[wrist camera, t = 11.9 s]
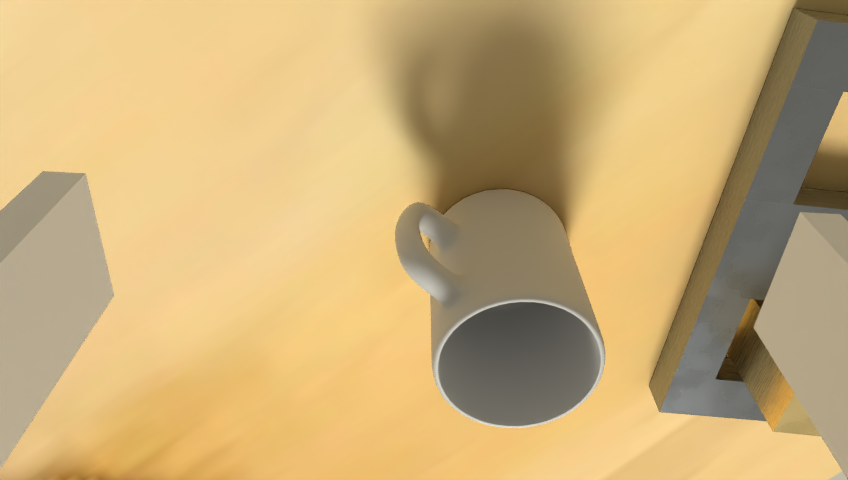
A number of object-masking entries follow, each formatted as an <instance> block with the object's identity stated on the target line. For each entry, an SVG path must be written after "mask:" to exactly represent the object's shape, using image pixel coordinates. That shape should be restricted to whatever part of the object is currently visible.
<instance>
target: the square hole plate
mask: <svg viewBox="0 0 848 480" xmlns="http://www.w3.org/2000/svg"><path fill="white" fill-rule="evenodd" d="M843 92H848V15H842V14H834V13H826V12H818V11H810V10H802V9H794V8H793V11H792V13H791V16H790V18H789V21H788V24H787V26H786V29H785V31H784V34H783V37H782V39H781V42H780V45H779V47H778V50H777V52H776V55H775V58H774V60H773V63H772V65H771V68H770V71H769V73H768V76H767V79H766V81H765V84H764V86H763V89H762V92H761V94H760V97H759V99H758V102H757V105H756V107H755V110H754V113H753V115H752V118H751V120H750V123H749V126H748V128H747V131H746V133H745V136H744V139H743V141H742V144H741V147H740V149H739V152H738V154H737V157H736V160H735V162H734V165H733V168H732V170H731V173H730V175H729V178H728V181H727V183H726V186H725V188H724V191H723V194H722V196H721V199H720V202H719V204H718V207H717V209H716V212H715V215H714V217H713V220H712V222H711V225H710V228H709V230H708V233H707V236H706V238H705V241H704V243H703V246H702V249H701V251H700V254H699V256H698V259H697V262H696V264H695V267H694V270H693V272H692V275H691V277H690V280H689V283H688V285H687V288H686V290H685V293H684V296H683V298H682V301H681V304H680V306H679V309H678V311H677V314H676V317H675V319H674V322H673V324H672V327H671V330H670V332H669V335H668V338H667V340H666V343H665V345H664V348H663V351H662V353H661V356H660V358H659V361H658V364H657V366H656V369H655V372H654V374H653V377H652V379H651V382H650V385H649V388H650V390H651V393H652V395H653V397H654V400H655V402H656V405H657V407H658V410H659V412H665V413H677V414H689V415H700V416H712V417H724V418H736V419H747V420H759V421H767V420H766V419H765V417H764V415H763V413H762V412H761V410H760V408H759V407H758V405H757V403H756V402H755V400H754V398H753V396H752V395H751V393H750V391H749V390H748V388H747V386H746V384H745V383H744V381H743V379H742V378H741V376H740V374H739V373H738V371H737V369H736V367H735V366H734V364H733V362H732V361H731V359H730V357H726V354H727V351H728V349H729V347H730V345H731V342H732V340H733V338H734V336H735V333H736V331H737V329H738V327H739V324H740V322H741V320H742V318H743V315H744V313H745V311H746V309H747V306H748V304H749V302H750V300H751V299H757V300H765V298H766V295H767V293H768V290H769V288H770V285H771V283H772V280H773V278H774V275H775V273H776V270H777V268H778V265H779V263H780V260H781V258H782V256H783V253H784V251H785V248H786V246H787V243H788V241H789V238H790V236H791V233H792V231H793V228H794V226H795V223H796V221H797V218H798V216H799V213H800V212H808V213H827V214H841V215H842V216H843V217H844V218H845V219H846V220H847V221H848V192H839V191H830V190H821V189H811V188H802V187H801V185H802V183H803V181H804V179H805V176H806V174H807V172H808V170H809V167H810V165H811V163H812V161H813V158H814V156H815V154H816V152H817V149H818V147H819V145H820V143H821V140H822V138H823V136H824V134H825V131H826V129H827V127H828V125H829V122H830V120H831V118H832V116H833V114H834V111H835V109H836V107H837V105H838V102H839V100H840V98H841V96H842V93H843Z"/></svg>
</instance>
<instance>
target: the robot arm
mask: <svg viewBox="0 0 848 480" xmlns="http://www.w3.org/2000/svg"><path fill="white" fill-rule="evenodd" d="M113 296H114V293H113V289H112V284H111V280H110V276H109V271H108V267H107V263H106V259H105V254H104V250H103V246H102V241H101V237H100V233H99V229H98V224H97V220H96V216H95V211H94V207H93V203H92V199H91V194H90V190H89V186H88V181H87V177H86V174H83V173H65V172H46V171H43V172H42V173H41V174H40V175H39V176H37V177H36V178H35V179H34V180H33V181H32V182H31V183H30V184H29V185H28V186H27V187H26V188H25V189H23V190H22V191H21V192H20V193H19V194H18V195H17V196H16V197H15V198H14V199H13V200H12V201H11V202H9V203H8V204H7V205H6V206H5V207H4V208H3V209H2V210H1V211H0V469H1V467H2V466H3V464H4V463H5V461H6V460H7V458H8V457H9V455H10V453H11V452H12V450H13V449H14V447H15V446H16V444H17V443H18V441H19V440H20V438H21V437H22V435H23V434H24V432H25V431H26V429H27V428H28V426H29V424H30V423H31V421H32V420H33V418H34V417H35V415H36V414H37V412H38V411H39V409H40V408H41V406H42V405H43V403H44V402H45V400H46V399H47V397H48V395H49V394H50V392H51V391H52V389H53V388H54V386H55V385H56V383H57V382H58V380H59V379H60V377H61V376H62V374H63V373H64V371H65V370H66V368H67V367H68V365H69V363H70V362H71V360H72V359H73V357H74V356H75V354H76V353H77V351H78V350H79V348H80V347H81V345H82V344H83V342H84V341H85V339H86V338H87V336H88V334H89V333H90V331H91V330H92V328H93V327H94V325H95V324H96V322H97V321H98V319H99V318H100V316H101V315H102V313H103V312H104V310H105V309H106V307H107V305H108V304H109V302H110V301H111V299H112V298H113ZM753 328H754V329H755V331H756V332H757V334H758V336H759V337H760V339H761V340H762V342H763V344H764V345H765V347H766V348H767V350H768V352H769V353H770V355H771V357H772V358H773V360H774V361H775V363H776V365H777V366H778V368H779V369H780V371H781V373H782V374H783V376H784V377H785V379H786V381H787V382H788V384H789V385H790V387H791V389H792V390H793V392H794V394H795V395H796V397H797V398H798V400H799V402H800V403H801V405H802V406H803V408H804V410H805V411H806V413H807V414H808V416H809V418H810V419H811V421H812V423H813V424H814V426H815V427H816V429H817V431H818V432H819V434H820V435H821V437H822V439H823V440H824V442H825V443H826V445H827V447H828V448H829V450H830V452H831V453H832V455H833V456H834V458H835V460H836V461H837V463H838V464H839V466H840V468H841V469H842V471H843V472H844V474H845V476H846V477H847V479H848V221H847V220H846V219H845V218H844V217H843V216H842V215H841V214H827V213H808V212H800V213H799V216H798V218H797V221H796V223H795V226H794V228H793V231H792V233H791V236H790V238H789V241H788V243H787V246H786V248H785V251H784V253H783V256H782V258H781V260H780V263H779V265H778V268H777V270H776V273H775V275H774V278H773V280H772V283H771V285H770V288H769V290H768V293H767V295H766V298H765V300H764V303H763V305H762V308H761V310H760V313H759V315H758V318H757V320H756V322H755V325H754V327H753Z"/></svg>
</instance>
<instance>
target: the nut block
mask: <svg viewBox="0 0 848 480" xmlns="http://www.w3.org/2000/svg"><path fill="white" fill-rule="evenodd" d="M763 303H764V300H757V299H751V300H750V302H749V304H748V306H747V309H746V311H745V313H744V315H743V318H742V320H741V322H740V324H739V327H738V329H737V331H736V333H735V336H734V338H733V340H732V342H731V345H730V347H729V349H728V351H727V354H728V355H729V357H730V359H731V361H732V362H733V364H734V366H735V367H736V369H737V371H738V373H739V374H740V376H741V378H742V379H743V381H744V383H745V384H746V386H747V388H748V390H749V391H750V393H751V395H752V396H753V398H754V400H755V402H756V403H757V405H758V407H759V408H760V410H761V412H762V413H763V415H764V417H765V419H766V420H767V422H768V424H769V425H770V427H771V429H772V431H774V432H784V433H793V434H803V435H813V436H821V435H820V434H819V432H818V431H817V429H816V427H815V426H814V424H813V423H812V421H811V419H810V418H809V416H808V414H807V413H806V411H805V410H804V408H803V406H802V405H801V403H800V402H799V400H798V398H797V397H796V395H795V394H794V392H793V390H792V389H791V387H790V385H789V384H788V382H787V381H786V379H785V377H784V376H783V374H782V373H781V371H780V369H779V368H778V366H777V365H776V363H775V361H774V360H773V358H772V357H771V355H770V353H769V352H768V350H767V348H766V347H765V345H764V344H763V342H762V340H761V339H760V337H759V336H758V334H757V332H756V331H755V329H754V328H753V327H754V325H755V322H756V320H757V318H758V315H759V313H760V310H761V308H762V305H763Z"/></svg>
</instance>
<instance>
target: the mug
mask: <svg viewBox="0 0 848 480" xmlns="http://www.w3.org/2000/svg"><path fill="white" fill-rule="evenodd" d="M420 232H422V233H423V234H424V235H426V236H427V237H428V238H429V239H431V240H430V246H429V251H428V250H427V248H426V247H425V245H424V243H423V241H422V238H421V235H420ZM395 241H396V248H397V253H398V256H399V259H400V262H401V264H402V266H403V268H404V269H405V271H406V273H407V274H408V275H409V276H410V277H411V278H412V279H413V280H414V281H415V282H416V283H417V284H418V285H419V286H420V287H421V288H422V289H424V290H425V291H426V292H427V293H429V294H430V297H431V352H432V369H433V375H434V379H435V382H436V385H437V387H438V389H439V391H440V393H441V394H442V396H443V397H444V399H445V400H446V401H447V402H448V403H449V404H450V405H451V406H452V407H453V408H454V409H455V410H457V411H458V412H459V413H461V414H463V415H464V416H466V417H468V418H470V419H472V420H474V421H477V422H479V423H483V424H486V425H490V426H495V427H503V428H523V427H531V426H537V425H541V424H544V423H548V422H551V421H553V420H556V419H558V418H560V417H562V416H564V415H566V414H568V413H570V412H571V411H573V410H574V409H576V408H577V407H578V406H579V405H581V404H582V403H583V402H584V401H585V400H586V399H587V398H588V397H589V396H590V395H591V393H592V392H593V391H594V389H595V388H596V386H597V384H598V383H599V381H600V379H601V376H602V373H603V370H604V365H605V348H604V342H603V338H602V335H601V332H600V329H599V326H598V323H597V321H596V318H595V315H594V312H593V309H592V307H591V304H590V301H589V298H588V295H587V293H586V290H585V287H584V284H583V281H582V279H581V276H580V273H579V270H578V267H577V265H576V262H575V259H574V256H573V253H572V250H571V246H570V243H569V240H568V237H567V234H566V231H565V228H564V226H563V224H562V222H561V220H560V219H559V217H558V216H557V215H556V213H555V212H554V211H553V210H552V209H551V208H550V207H549V206H548V205H547V204H545V203H544V202H543V201H541V200H540V199H538V198H536V197H534V196H532V195H530V194H527V193H525V192H521V191H517V190H510V189H494V190H487V191H482V192H478V193H475V194H473V195H470V196H468V197H466V198H464V199H462V200H460V201H459V202H457V203H456V204H454V205H453V206H452V207H451V208H450V209H449V210H448V211H447V212H446V213H445V214H444V215H443V214H441V213H440V212H439V211H437V210H436V209H434V208H432V207H431V206H429V205H426V204H424V203H419V202H417V203H414V204H412V205H410V206H408V207H407V208H406V209H405V210H404V211H403V213H402V214H401V215H400V217H399V220H398V222H397V225H396V231H395Z"/></svg>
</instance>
